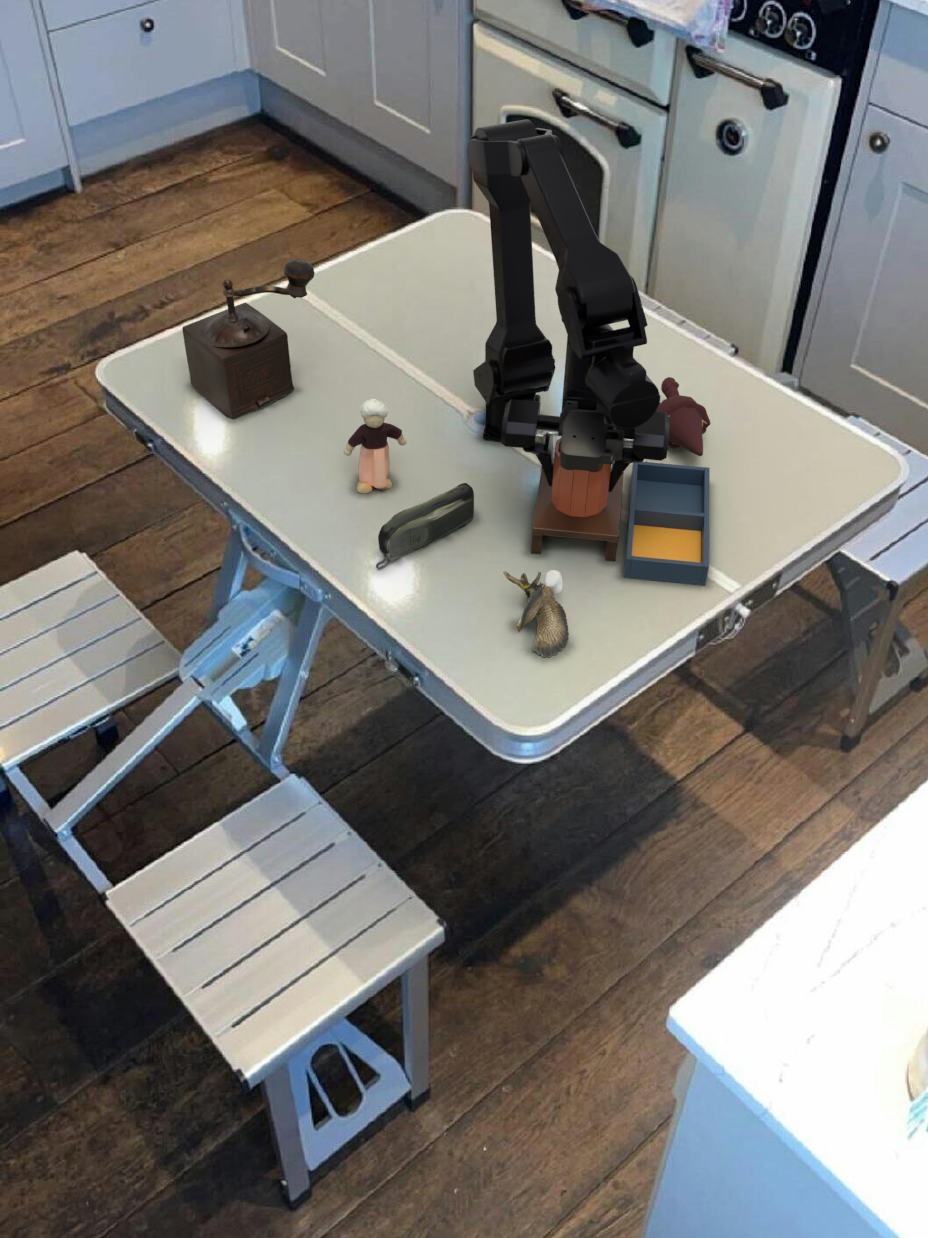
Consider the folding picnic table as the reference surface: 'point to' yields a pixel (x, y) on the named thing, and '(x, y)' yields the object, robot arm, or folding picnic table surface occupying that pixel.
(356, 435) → the grandmother figurine
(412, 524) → the dark green rounded bar
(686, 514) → the blue divided tray
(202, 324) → the coffee grinder
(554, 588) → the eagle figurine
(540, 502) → the brown low table
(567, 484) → the cup
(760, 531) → the folding picnic table surface
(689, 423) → the maroon cone-shaped figurine
